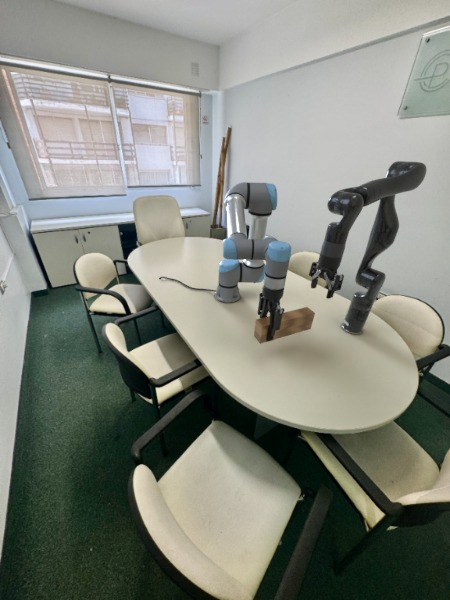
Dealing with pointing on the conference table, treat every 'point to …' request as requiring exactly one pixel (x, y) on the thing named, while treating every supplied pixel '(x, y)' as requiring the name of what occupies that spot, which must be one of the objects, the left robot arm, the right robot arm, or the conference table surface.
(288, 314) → the bar
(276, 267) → the left robot arm
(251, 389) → the conference table surface
